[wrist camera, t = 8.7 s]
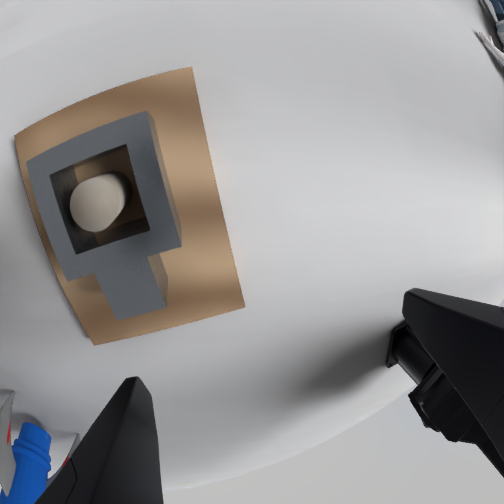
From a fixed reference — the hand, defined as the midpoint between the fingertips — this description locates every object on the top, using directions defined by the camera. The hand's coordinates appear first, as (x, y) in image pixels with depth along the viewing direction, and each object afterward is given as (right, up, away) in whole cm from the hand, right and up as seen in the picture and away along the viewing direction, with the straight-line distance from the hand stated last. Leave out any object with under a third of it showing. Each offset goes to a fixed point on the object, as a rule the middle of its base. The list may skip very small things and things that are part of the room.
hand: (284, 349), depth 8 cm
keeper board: (-9, +5, +8) cm, 13 cm away
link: (-9, +5, +7) cm, 12 cm away
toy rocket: (-27, -16, +12) cm, 33 cm away
